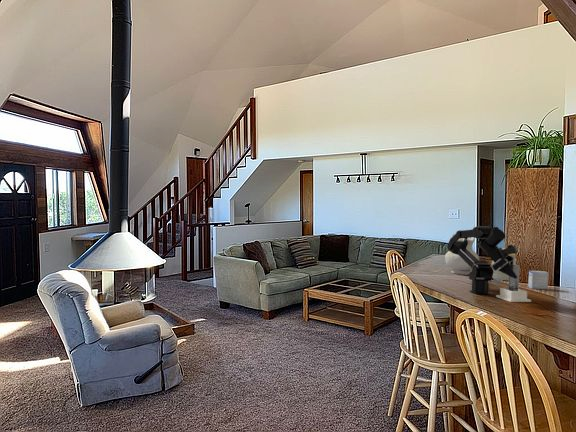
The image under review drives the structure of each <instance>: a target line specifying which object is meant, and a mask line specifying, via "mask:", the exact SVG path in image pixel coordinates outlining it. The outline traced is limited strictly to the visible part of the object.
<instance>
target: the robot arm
mask: <svg viewBox="0 0 576 432" xmlns="http://www.w3.org/2000/svg"><path fill="white" fill-rule="evenodd" d="M454 234H455V235H454ZM454 234H453V235H454V236H453V235H452V236H453V237H452V236H451V237H452V238H451V237H450V238H451V239H449V240H448V243H447V249H448V252H449V251H450V252H451V253H454V254H457V255H459V256H460V257H461V258H462V259H463V260H464V261H465V262H466V263H467V264H468V265H469V266H470V267H471V268H472V270H471V271H470V274H469V275H468V279H469V280H471V290H469V293H473V294H475V295H490V292H489V286H490V284H489V282H491V281H492V279H493V278H492V276H493V269H494V270H495V271H496V270H498V268H501V269H499V270H498V271H500V272H502V273H505V274H507V275H509V276H511V277H513V278H515V279H516V278H517V276H516V274H515V273H514V271H513V270H512V268H511V267H510V264H513V263H514V260H513V259H515V258H516V257H515V256H514V257H515V258H514V257H513V256H512V255H509V254H516V253H519V251H518V247H517V246H516V245H513V244H510V245H507V247H506V249H503V248H502V247H499V246H498V245H499V244H501V242H502V241H504V240H505V238H506V233H505V232H504V231H503V230H502V229H500V228H499V227H498V226H493V227H491V226H481V225H479V226H474V227H473V228H472V229H465V230H464V229H463V230H457V231H456V232H455V233H454ZM459 238H464V241H458V240H459ZM468 238H474V239H479V241H476V249H479V248H481V250H482V251H483V252H484V253H485V254H486V255H487V258H488V259H490V260H492V261H494V262H495V263H494V264H493V265H492V264H490V263H489V262H488V261H487V260H480V259H479V260H478V259H477V258H476V257H475V256H474V255H472V254H471V253H470V252H469V251H468V250H467V249H466V248H467V245H468V241H467V239H468ZM480 239H481V240H480ZM512 260H513V261H512ZM492 268H493V269H492Z"/></svg>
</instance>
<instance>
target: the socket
mask: <svg viewBox="0 0 576 432" xmlns="http://www.w3.org/2000/svg"><path fill="white" fill-rule="evenodd" d="M495 298H499V299H501V300H504V301H506V302H511V303H519V302H520V303H529V302H530V303H531V302H532V299H530V298H528V291H527V290H523V289H520V288H518V291H510V290H508V287H500V290H499V294H496V295H495Z"/></svg>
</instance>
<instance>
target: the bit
mask: <svg viewBox="0 0 576 432" xmlns="http://www.w3.org/2000/svg"><path fill="white" fill-rule="evenodd" d="M510 267H511V268H512V270H513V271H514V273H515V274H516V276H517V278H516V279H515V278H513V277H511V276H509V280H508V287H507V288H508V290H510V291H518V289H520V288H519V287H520V286H519V285H520V283H519V282H520V269H521V267H520V264H516V265H514V264H510Z"/></svg>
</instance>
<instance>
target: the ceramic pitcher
mask: <svg viewBox="0 0 576 432" xmlns="http://www.w3.org/2000/svg"><path fill="white" fill-rule="evenodd" d="M455 234H456V233H453V235H452V236H450V239H451V238H452V237H453V236H454V235H455ZM450 239H449V240H450ZM458 241H464V238H459V240H458ZM467 241H468V245H467V248H466V249H467V250H468V251H469V252H470V253H471V254H472V255H474V256H475V257H476V258H477V259H478V260H479V261H480V258H479V255H478V253H476V252H475V251H474V250H473V244H474V242H475V241H476V238H474V237H471V238H468V239H467ZM444 260H445V264H446V265H447V267H448V268H450V269H452V270H451V271H450V273H453V274H455V275H464V276H467V275H468V276H469V274H470V272H471V271H472V268H471V267H470V266H469V265H468V264H467V263H466V262H465V261H464V260H463V259H462V258H461V257H460V256H459V255H457V254H454V253H451V252H450V251H449V250H448V251H447V252H446V253H445V255H444Z"/></svg>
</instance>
